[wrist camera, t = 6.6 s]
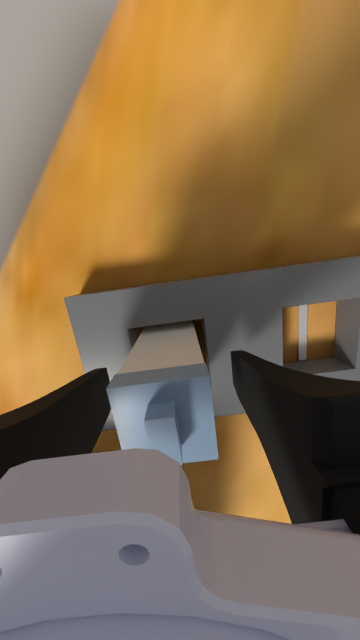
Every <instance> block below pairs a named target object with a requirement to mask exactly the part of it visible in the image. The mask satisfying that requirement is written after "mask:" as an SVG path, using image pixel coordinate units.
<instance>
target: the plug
mask: <svg viewBox="0 0 360 640" xmlns="http://www.w3.org/2000/svg"><path fill="white" fill-rule="evenodd" d="M106 391H107V394H108V398H109V402H110V406H111V410H112V414H113V418H114V422H115V426H116V430H117V434H118V438H119V442H120V446H121V449H122V450H124V449H133V448H140V449H151V450H159V451H161V452H162V453H164V454H166V455H167V456H169V457H171V458H172V459H174V460H176V461H177V462H179V463H180V465H181V466H182V465H183V463H190V462H199V461H207V460H216V459H219V457H218V448H217V439H216V429H215V420H214V411H213V402H212V393H211V383H210V375H209V372H208V368H207V365H206V363H204V360H203V356H202V353H201V349H200V346H199V342H198V339H197V335H196V332H195V328H194V325H193V321H188V322H180V323H173V324H165V325H157V326H150V327H144V329H143V331H142V332H141V334H140V336H139V337H138V339H137V341H136V343H135V344H134V346H133V348H132V349H131V351H130V353H129V354H128V356H127V358H126V360H125V361H124V363H123V365H122V366H121V368H120V370H119V371H118V373H117V374H115V375H114V376H113V378H112V380H111V381H110V383H109V385H108V386H107V388H106Z"/></svg>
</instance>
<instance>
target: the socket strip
mask: <svg viewBox="0 0 360 640" xmlns="http://www.w3.org/2000/svg"><path fill="white" fill-rule="evenodd" d="M64 300H65V303H66V307H67V311H68V314H69V318H70V321H71V325H72V329H73V332H74V336H75V339H76V343H77V346H78V350H79V354H80V357H81V361H82V364H83V368H84V371H85V374H86V373H87V372H89V371H92V370H94V369H97V368H105V367H106V368H107V372H108V376H109V380H110V381H111V380H112V378H113V376H114V375H115V374H117V373H118V371H119V370H120V368H121V366H122V365H123V363H124V361H125V360H126V358H127V356H128V354H129V353H130V351H131V349H132V348H133V346H134V344H135V343H136V341H137V339H138V338H137V333H136V327H144V326H151V325H159V324H164V325H165V324H172V323H173V322H181V321H188V320H196V319H202V328H203V336H204V345H205V354H206V363H207V368H208V372H209V375H210V383H211V393H212V402H213V411H214V417H219V416H227V415H235V414H243V413H246V412H245V410H244V408H243V406H242V404H241V402H240V400H239V398H238V396H237V393H236V390H235V388H234V385H233V377H232V364H231V352H230V351H237V350H243V351H246V352H248V353H251V354H253V355H255V356H258V357H260V358H262V359H265V360H267V361H269V362H272V363H275V364H278V365H280V366H283V367H286V368H289V369H293V370H297V371H300V372H304V373H309V374H313V375H319V376H324V377H330V378H337V379H345V380H353V381H360V255H357V256H350V257H342V258H335V259H328V260H321V261H314V262H307V263H299V264H292V265H285V266H278V267H271V268H263V269H256V270H249V271H242V272H235V273H228V274H220V275H213V276H206V277H199V278H192V279H184V280H177V281H170V282H163V283H156V284H148V285H141V286H134V287H127V288H120V289H113V290H105V291H98V292H91V293H84V294H78V295H74V296H70V297H65V298H64ZM330 301H337V309H336V326H335V344H334V357H327V358H319V359H311V360H307V312H308V304H315V303H322V302H330ZM293 306H299V316H298V360H303V361H295V362H288V363H283V319H282V308H285V307H293ZM112 429H116V426H115V422H114V418H113V414H112V410H110V414H109V416H108V418H107V420H106V423H105V425H104V427H103V429H102V431H104V430H112Z"/></svg>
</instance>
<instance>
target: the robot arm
mask: <svg viewBox="0 0 360 640" xmlns="http://www.w3.org/2000/svg"><path fill="white" fill-rule="evenodd" d="M230 352H231V364H232V377H233V385H234V388H235V390H236V393H237V396H238V398H239V400H240V402H241V404H242V406H243V408H244V410H245V412H246V414H247V416H248V418H249V419H250V421H251V423H252V425H253V427H254V429H255V431H256V433H257V435H258V437H259V439H260V441H261V443H262V446H263V448H264V451H265V453H266V456H267V458H268V461H269V463H270V466H271V468H272V471H273V474H274V476H275V479H276V481H277V484H278V486H279V489H280V492H281V495H282V497H283V500H284V503H285V505H286V508H287V511H288V513H289V516H290V519H291V522H292V524H288V523H282V522H275V521H269V520H262V519H256V518H249V517H243V516H236V515H230V514H223V513H217V512H210V511H204V510H197V509H195V508H194V505H193V502H192V498H191V492H190V486H189V480H188V478H187V476H186V474H185V473H184V471H183V469H182V467H181V465H180V463H179V462H177V461H176V460H174V459H172V458H171V457H169V456H167V455H166V454H164V453H162V452H161V451H159V450H151V449H140V448H133V449H124V450H116V451H107V452H99V453H91V452H92V450H93V448H94V446H95V444H96V442H97V440H98V438H99V435H100V433H101V431H102V429H103V427H104V425H105V423H106V420H107V418H108V416H109V414H110V410H111V406H110V402H109V398H108V394H107V391H106V388H107V386H108V385H109V383H110V380H109V376H108V372H107V368H106V367H105V368H97V369H94V370H92V371H89V372H87V373H86V374H84V375H82V376H80V377H78V378H77V379H75V380H73V381H71V382H70V383H68V384H66V385H64V386H62V387H61V388H59V389H57V390H55V391H53V392H51V393H49V394H48V395H46V396H44V397H42V398H40V399H38V400H35V401H33V402H31V403H29V404H27V405H24V406H22V407H20V408H17V409H15V410H12V411H10V412H7V413H5V414H2V415H0V640H360V381H353V380H345V379H337V378H330V377H324V376H319V375H313V374H309V373H304V372H300V371H297V370H293V369H289V368H286V367H283V366H280V365H278V364H275V363H272V362H269V361H267V360H265V359H262V358H260V357H258V356H255V355H253V354H251V353H248V352H246V351H243V350H237V351H230Z"/></svg>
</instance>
